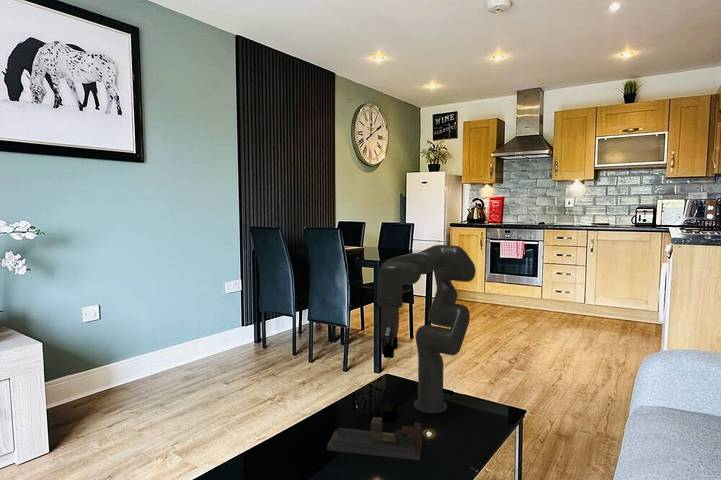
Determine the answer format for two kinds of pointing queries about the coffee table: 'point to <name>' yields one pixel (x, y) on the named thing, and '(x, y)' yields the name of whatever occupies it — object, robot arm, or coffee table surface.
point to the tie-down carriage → (384, 437)
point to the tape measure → (388, 412)
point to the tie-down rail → (362, 443)
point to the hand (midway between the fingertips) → (390, 352)
